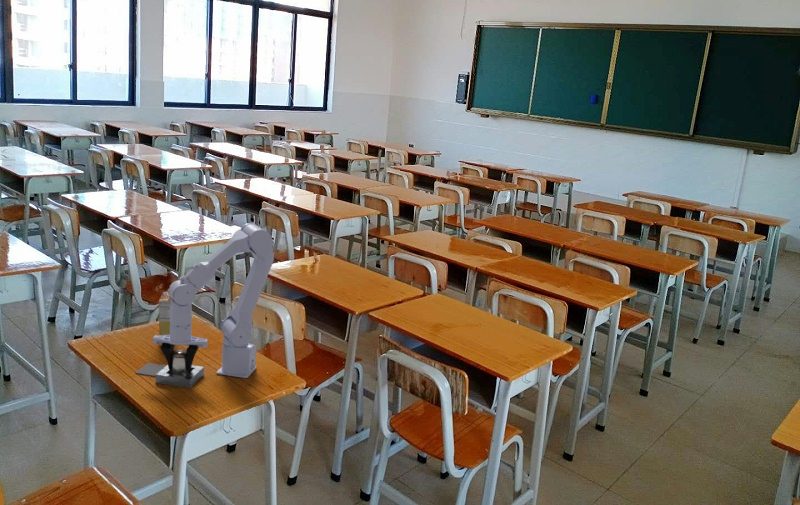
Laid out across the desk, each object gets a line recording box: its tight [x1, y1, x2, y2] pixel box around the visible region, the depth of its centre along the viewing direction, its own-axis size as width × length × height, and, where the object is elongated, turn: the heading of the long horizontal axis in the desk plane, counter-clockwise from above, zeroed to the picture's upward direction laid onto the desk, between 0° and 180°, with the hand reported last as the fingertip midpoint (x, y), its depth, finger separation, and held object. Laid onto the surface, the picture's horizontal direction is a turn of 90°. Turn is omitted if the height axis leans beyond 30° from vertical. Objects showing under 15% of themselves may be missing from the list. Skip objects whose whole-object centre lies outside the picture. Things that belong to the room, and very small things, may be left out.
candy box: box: [158, 291, 172, 347], centre depth 209 cm, size 9×4×15 cm, turn 11°
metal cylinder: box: [172, 348, 188, 376], centre depth 185 cm, size 4×4×8 cm
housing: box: [155, 364, 205, 389], centre depth 185 cm, size 10×9×2 cm
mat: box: [135, 362, 167, 378], centre depth 189 cm, size 7×7×1 cm
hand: (180, 368), depth 185 cm, fingers closed on metal cylinder, 4 cm apart
